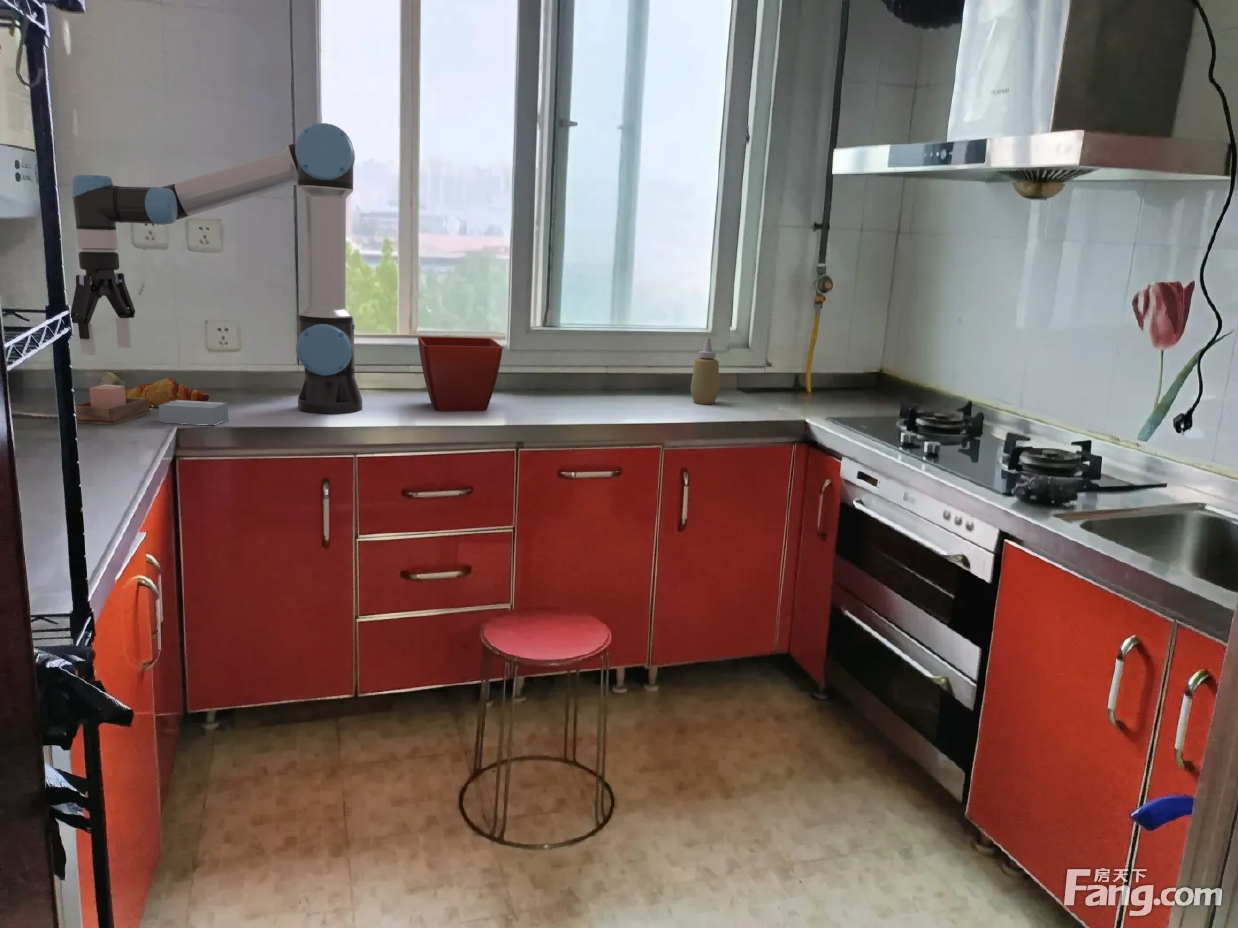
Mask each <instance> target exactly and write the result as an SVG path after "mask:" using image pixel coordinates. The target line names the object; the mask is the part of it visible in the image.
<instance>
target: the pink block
mask: <svg viewBox="0 0 1238 928" xmlns="http://www.w3.org/2000/svg"><path fill="white" fill-rule="evenodd" d="M125 390H126V386H125V385H119V384H101V385H98V386H93V387H92V386H91V387H89V401H90V403H91V407H100V408H114V407H117V406H121V405H124V404H126V397H125Z"/></svg>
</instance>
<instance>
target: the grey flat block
mask: <svg viewBox="0 0 1238 928" xmlns="http://www.w3.org/2000/svg"><path fill="white" fill-rule="evenodd" d="M228 404H229V403H228V402H221V401H220V402H217V401H206V402H203V401H186V400H173V401H170V402H166V403H162V404H160V405H159V407H158V416H159V423H160V422H166V423H187V424H208V425H214V424H217V423H219V422H221V421H226V420H228V421H229V405H228ZM226 422H227V421H226ZM166 423H165V424H166Z"/></svg>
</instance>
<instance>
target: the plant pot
mask: <svg viewBox="0 0 1238 928" xmlns="http://www.w3.org/2000/svg"><path fill="white" fill-rule="evenodd" d="M417 342H418V343H417V344H418V349H419V357H420V358H419V359H420V363H421V369H422V373H423V377H424V383H425V386H426V390H427V394H428V396H429V400H430V403H431V405H432V407H433V408H434V410H435V411H437V412H438V411H439V412H485V411H487V410H488V407H489V405H490V402H491V399H492V397H493V392H494V390H495V386H496V383H497V379H498V375H499V370H500V366H501V365H500V364H501V361H502V355H503V351H504V350H503V349H504V348H503V346H502V345H501V344H500V343H498V342H497V341H495V340H494V339H493V338H490V337H489V338H488V337H458V336H457V337H456V336H418V337H417Z"/></svg>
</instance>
